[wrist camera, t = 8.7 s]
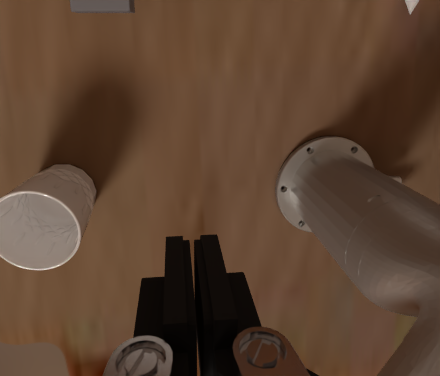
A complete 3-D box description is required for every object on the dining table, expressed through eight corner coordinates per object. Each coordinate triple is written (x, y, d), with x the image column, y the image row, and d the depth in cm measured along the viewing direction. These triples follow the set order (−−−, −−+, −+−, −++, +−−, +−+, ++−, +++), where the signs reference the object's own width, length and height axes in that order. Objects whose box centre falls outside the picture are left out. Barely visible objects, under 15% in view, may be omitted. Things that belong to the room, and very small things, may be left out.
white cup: (32, 151, 38) (-14, 182, 28) (106, 166, 39) (85, 200, 30) (27, 215, 40) (-17, 263, 31) (97, 227, 42) (75, 276, 32)
